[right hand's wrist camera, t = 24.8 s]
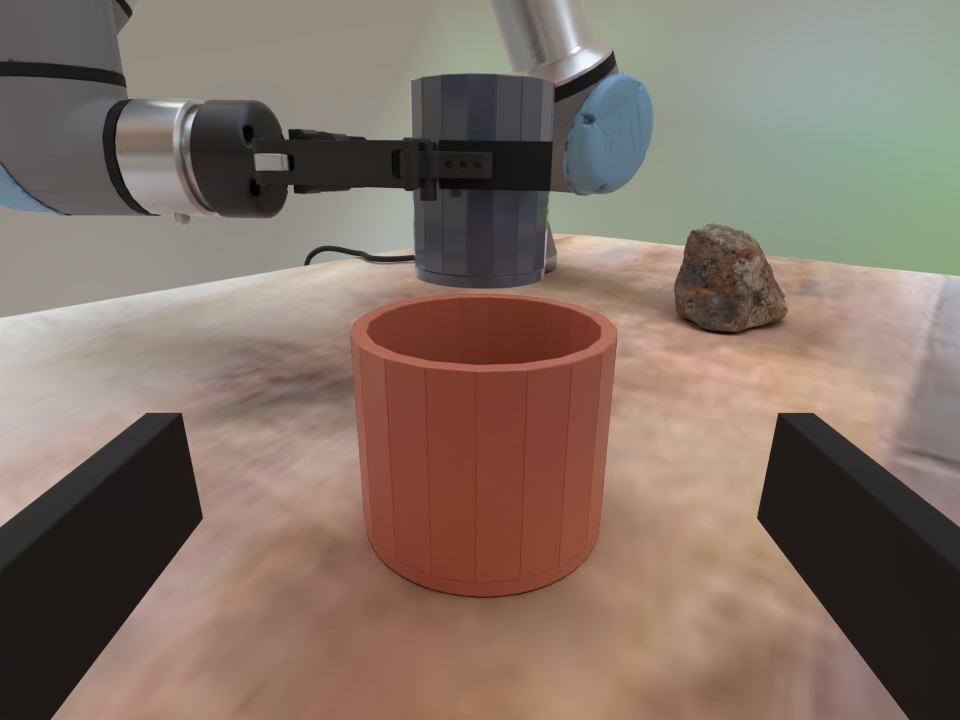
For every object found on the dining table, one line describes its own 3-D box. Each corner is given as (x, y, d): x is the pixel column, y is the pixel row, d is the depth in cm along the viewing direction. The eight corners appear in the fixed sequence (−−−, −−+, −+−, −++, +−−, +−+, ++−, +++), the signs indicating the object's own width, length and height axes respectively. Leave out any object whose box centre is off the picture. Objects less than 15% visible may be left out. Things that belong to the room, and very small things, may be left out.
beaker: (564, 271, 42) (576, 88, 37) (505, 295, 34) (512, 69, 30) (460, 259, 46) (460, 93, 42) (387, 278, 38) (379, 78, 34)
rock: (642, 324, 55) (743, 349, 48) (647, 235, 52) (756, 248, 44) (718, 291, 63) (813, 308, 56) (726, 213, 60) (828, 221, 53)
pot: (628, 490, 26) (648, 312, 23) (538, 639, 18) (551, 395, 15) (449, 438, 31) (447, 284, 28) (315, 538, 23) (291, 337, 20)
